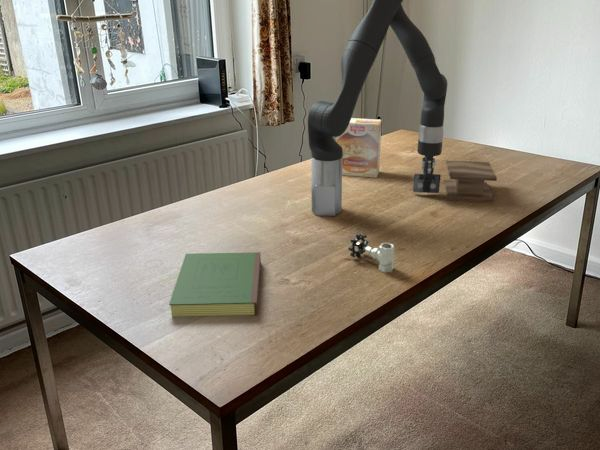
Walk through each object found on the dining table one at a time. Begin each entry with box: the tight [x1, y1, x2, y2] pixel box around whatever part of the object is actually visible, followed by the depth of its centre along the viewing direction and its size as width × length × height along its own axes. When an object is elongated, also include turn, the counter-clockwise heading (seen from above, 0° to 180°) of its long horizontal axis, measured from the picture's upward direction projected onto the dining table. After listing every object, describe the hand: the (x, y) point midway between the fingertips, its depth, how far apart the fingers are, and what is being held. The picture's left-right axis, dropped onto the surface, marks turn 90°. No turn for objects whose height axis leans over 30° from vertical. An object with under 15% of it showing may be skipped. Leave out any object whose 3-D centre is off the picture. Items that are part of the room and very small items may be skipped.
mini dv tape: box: [412, 172, 441, 194], centre depth 193 cm, size 8×2×6 cm, turn 82°
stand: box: [443, 160, 498, 203], centre depth 196 cm, size 16×14×8 cm
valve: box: [347, 232, 396, 273], centre depth 150 cm, size 7×7×12 cm
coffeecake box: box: [335, 117, 383, 178], centre depth 212 cm, size 15×7×20 cm, turn 76°
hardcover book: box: [168, 251, 262, 318], centre depth 141 cm, size 25×19×4 cm
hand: (425, 190), depth 195 cm, fingers closed on mini dv tape, 1 cm apart
